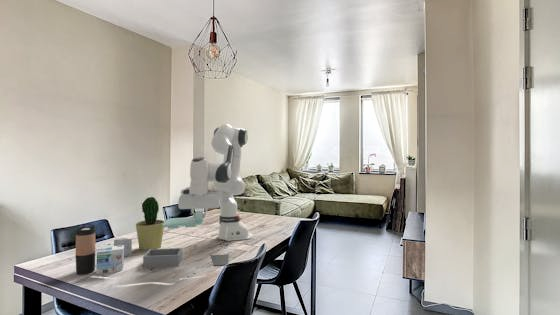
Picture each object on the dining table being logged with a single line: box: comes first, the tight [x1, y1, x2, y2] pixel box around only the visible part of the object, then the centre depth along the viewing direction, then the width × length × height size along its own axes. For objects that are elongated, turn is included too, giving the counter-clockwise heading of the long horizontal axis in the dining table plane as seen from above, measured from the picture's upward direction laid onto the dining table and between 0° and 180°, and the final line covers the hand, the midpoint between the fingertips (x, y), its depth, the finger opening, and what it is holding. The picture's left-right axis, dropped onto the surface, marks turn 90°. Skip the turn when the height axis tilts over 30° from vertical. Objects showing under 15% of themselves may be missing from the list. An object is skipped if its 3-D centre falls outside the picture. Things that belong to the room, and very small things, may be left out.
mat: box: [210, 253, 230, 267], centre depth 154 cm, size 19×15×1 cm
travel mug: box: [75, 226, 96, 276], centre depth 138 cm, size 8×8×20 cm
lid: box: [162, 210, 205, 230], centre depth 151 cm, size 18×14×6 cm
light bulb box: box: [95, 245, 125, 275], centre depth 139 cm, size 11×7×11 cm, turn 114°
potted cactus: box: [135, 196, 166, 251], centre depth 173 cm, size 15×15×30 cm
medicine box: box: [113, 237, 133, 258], centre depth 160 cm, size 8×4×9 cm, turn 71°
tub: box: [142, 247, 183, 269], centre depth 148 cm, size 16×11×6 cm
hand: (199, 217), depth 152 cm, fingers closed on lid, 3 cm apart
